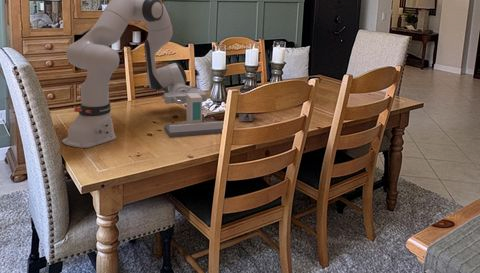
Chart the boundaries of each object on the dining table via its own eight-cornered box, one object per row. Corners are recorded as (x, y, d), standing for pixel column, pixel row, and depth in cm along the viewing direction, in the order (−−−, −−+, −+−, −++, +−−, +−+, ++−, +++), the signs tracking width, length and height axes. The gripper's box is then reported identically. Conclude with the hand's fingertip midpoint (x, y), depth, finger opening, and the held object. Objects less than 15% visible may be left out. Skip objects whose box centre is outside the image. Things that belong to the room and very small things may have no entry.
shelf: (170, 137, 213) (169, 126, 211) (164, 128, 224) (164, 118, 222) (225, 132, 221) (225, 121, 220) (217, 124, 232) (217, 114, 230)
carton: (191, 129, 218) (191, 98, 214) (186, 123, 225) (186, 93, 221) (202, 128, 220) (202, 97, 215) (197, 122, 227) (197, 93, 222)
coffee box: (242, 116, 246) (243, 84, 241) (255, 117, 245) (256, 85, 240) (238, 121, 238) (239, 88, 233) (251, 122, 237) (253, 89, 231)
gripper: (160, 89, 236) (166, 96, 224) (202, 86, 243) (210, 93, 231) (160, 101, 238) (166, 109, 226) (201, 99, 245) (209, 106, 233)
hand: (189, 101), depth 229 cm, fingers open, 8 cm apart
